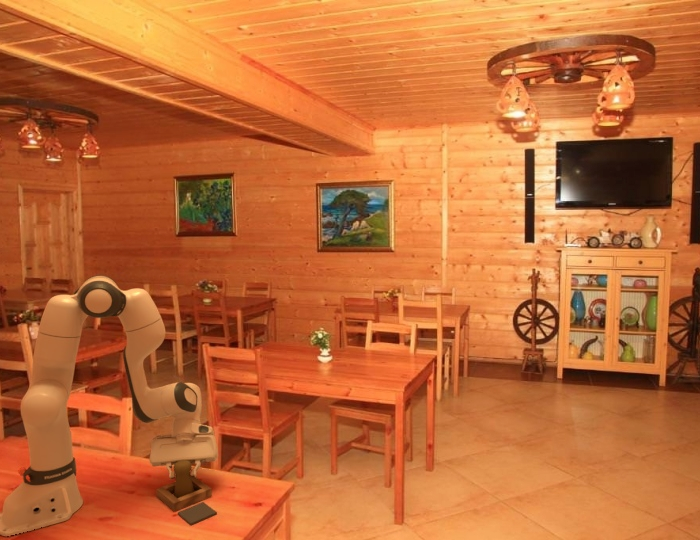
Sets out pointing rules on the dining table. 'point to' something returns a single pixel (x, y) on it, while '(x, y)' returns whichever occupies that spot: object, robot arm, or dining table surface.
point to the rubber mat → (197, 513)
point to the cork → (183, 478)
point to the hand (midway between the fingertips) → (182, 477)
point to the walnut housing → (179, 503)
